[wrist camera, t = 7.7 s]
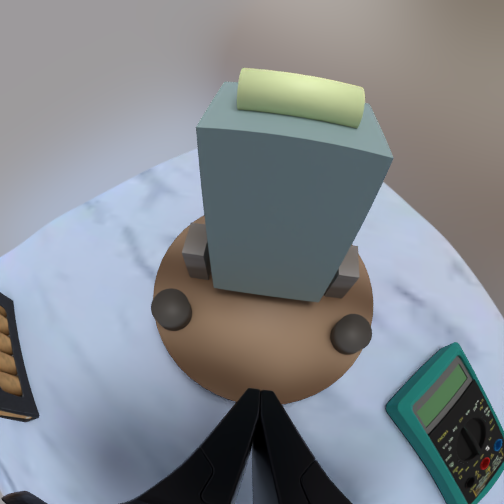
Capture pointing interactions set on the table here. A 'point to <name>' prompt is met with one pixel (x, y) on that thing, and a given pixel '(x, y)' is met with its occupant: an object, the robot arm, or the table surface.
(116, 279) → the table surface
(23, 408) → the ammunition clip
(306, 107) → the post
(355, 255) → the levelling base
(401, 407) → the digital multimeter
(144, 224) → the table surface
